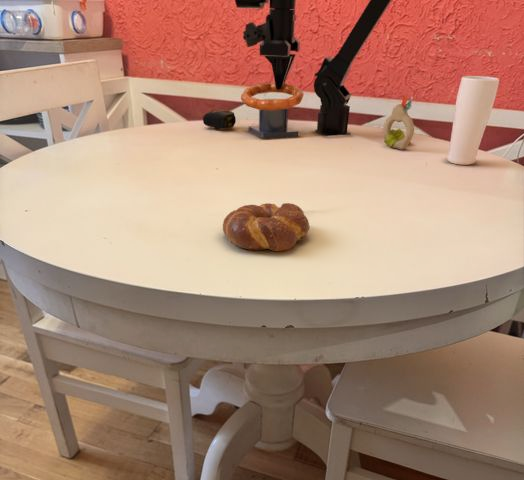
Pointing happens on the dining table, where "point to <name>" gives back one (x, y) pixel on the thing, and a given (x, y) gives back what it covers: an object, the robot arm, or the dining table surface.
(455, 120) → the drinking glass
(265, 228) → the pretzel
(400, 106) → the beige hollow ornament
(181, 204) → the dining table surface
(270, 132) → the cup stand
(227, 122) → the tape measure
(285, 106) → the ring
